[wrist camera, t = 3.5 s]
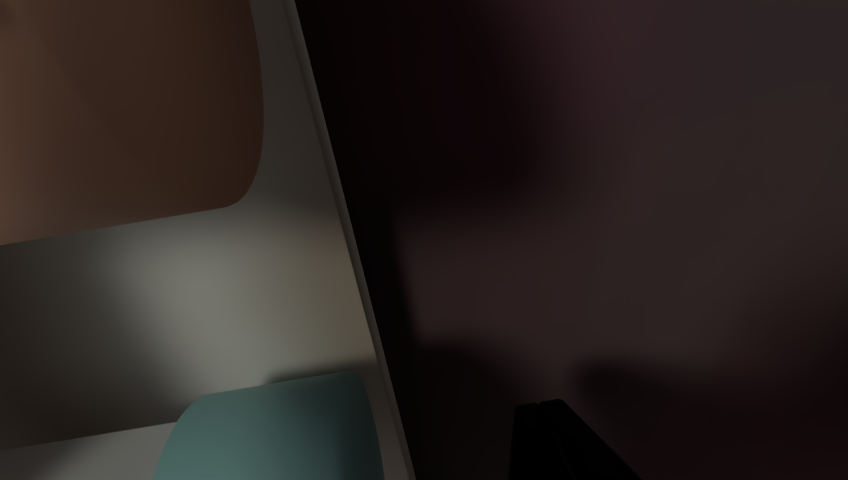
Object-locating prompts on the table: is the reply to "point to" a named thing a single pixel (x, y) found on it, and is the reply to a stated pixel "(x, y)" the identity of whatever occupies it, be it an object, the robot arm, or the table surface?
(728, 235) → the table surface
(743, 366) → the table surface
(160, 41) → the terracotta knob
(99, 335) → the mount
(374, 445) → the teal knob
